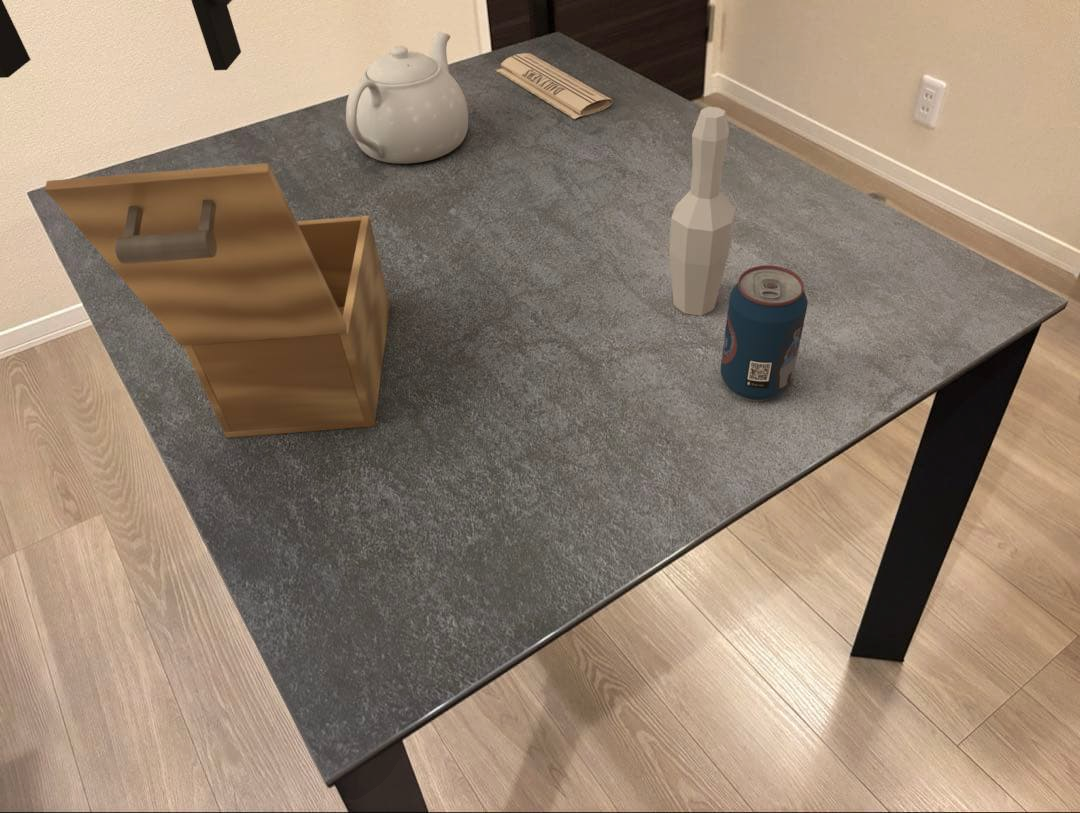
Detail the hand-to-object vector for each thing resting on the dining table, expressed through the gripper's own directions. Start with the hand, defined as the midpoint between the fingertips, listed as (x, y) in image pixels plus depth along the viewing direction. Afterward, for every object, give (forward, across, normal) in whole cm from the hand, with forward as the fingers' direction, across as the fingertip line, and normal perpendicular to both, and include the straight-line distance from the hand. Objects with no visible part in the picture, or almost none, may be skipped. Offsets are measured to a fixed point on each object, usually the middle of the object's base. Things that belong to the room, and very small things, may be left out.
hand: (120, 65), depth 50 cm
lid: (+16, 0, -3) cm, 16 cm away
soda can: (+38, -44, -13) cm, 60 cm away
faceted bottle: (+38, -39, -26) cm, 61 cm away
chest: (+38, +2, -16) cm, 41 cm away
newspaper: (+38, -20, -83) cm, 94 cm away
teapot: (+38, 0, -66) cm, 76 cm away
